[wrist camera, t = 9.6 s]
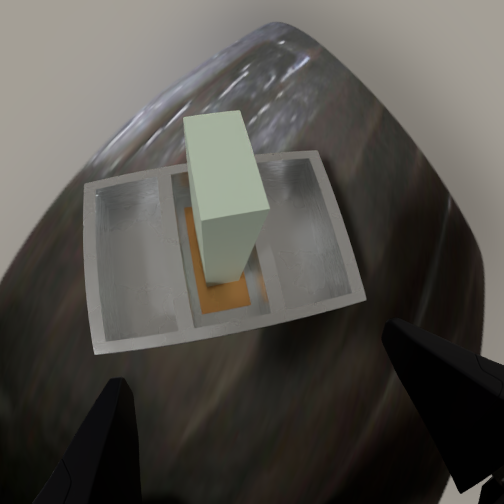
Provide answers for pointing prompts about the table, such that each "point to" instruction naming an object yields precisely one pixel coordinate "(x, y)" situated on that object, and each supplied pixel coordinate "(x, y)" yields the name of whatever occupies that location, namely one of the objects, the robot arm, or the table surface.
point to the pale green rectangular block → (223, 193)
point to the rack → (190, 266)
